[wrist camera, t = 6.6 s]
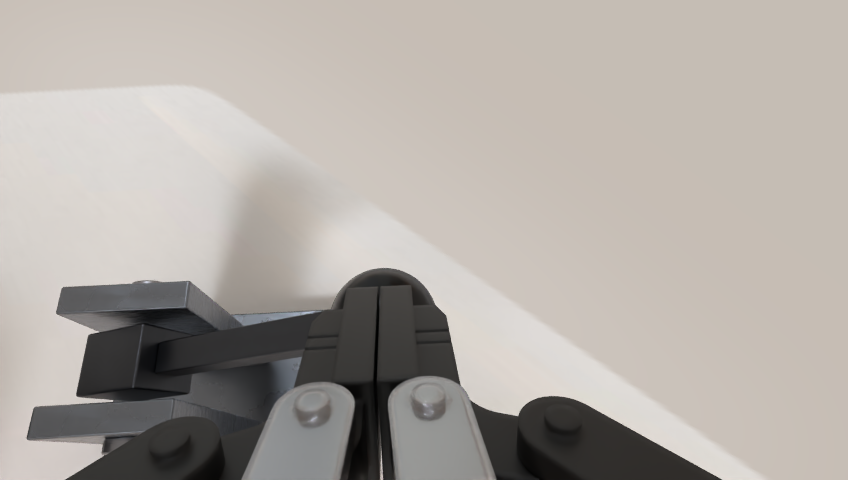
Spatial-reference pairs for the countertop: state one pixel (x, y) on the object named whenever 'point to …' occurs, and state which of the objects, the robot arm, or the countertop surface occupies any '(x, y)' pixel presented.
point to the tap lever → (204, 348)
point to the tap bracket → (210, 391)
